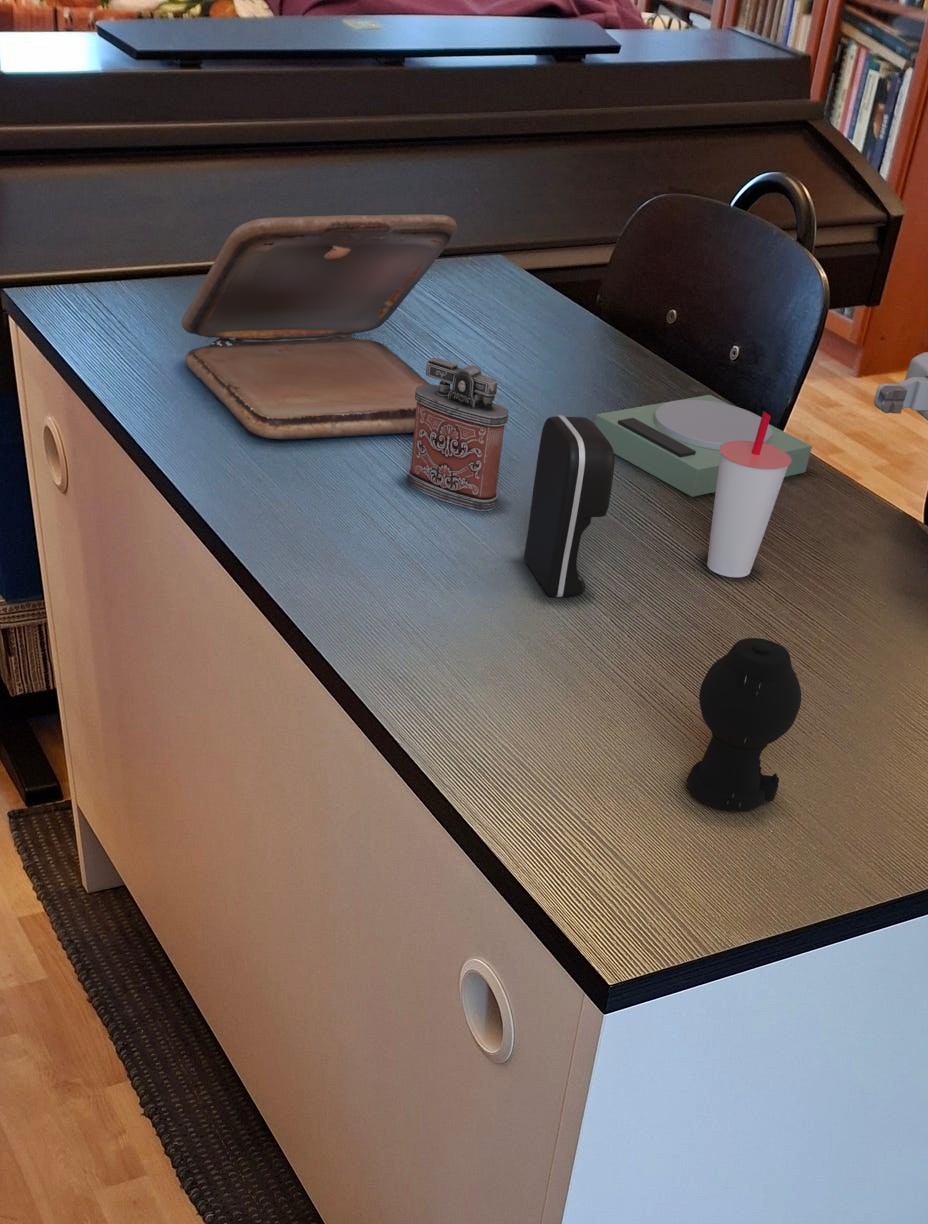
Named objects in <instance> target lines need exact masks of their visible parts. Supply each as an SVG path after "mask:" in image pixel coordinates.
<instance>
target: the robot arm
mask: <svg viewBox="0 0 928 1224" xmlns="http://www.w3.org/2000/svg"><path fill="white" fill-rule="evenodd" d="M873 405H874V406H875V407H876V408H877V409H879V410H880V411H881V412H882V413H884V414H902V410H904V409H909V408H910V409H911V410H912V411H915V412H916V413H917V414H919V415H920V416H921V417H922V418H924V419H925V420H926V421H928V351H925V352H921V353H919V354H918V355H915V356H914V357H913V358H911V360H910V363H909V365H908V369H907V371H906V375H905V379H904V380H902V381H899V382H898V383H896V382H895V383H894V382H893V383H892V382H890V383H889V382H884V383H883V382H882V383H881V384H879V385H878V387H877V388H876V392H875V395H874V399H873Z"/></svg>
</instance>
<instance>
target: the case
mask: <svg viewBox="0 0 928 1224" xmlns="http://www.w3.org/2000/svg"><path fill="white" fill-rule="evenodd" d="M457 230H458V225H457V222H456V220H455V219H454V218H453V217H451V216H449V215H445V214H427V213H424V214H414V213H413V214H380V215H378V214H375V215H374V214H370V215H369V214H366V215H364V214H363V215H362V214H353V215H351V214H348V215H347V214H344V215H340V214H339V215H311V216H310V215H307V216H306V215H305V216H277V217H263V218H261V217H260V218H256V219H252V220H250V221H247V222H244V223H242V224H240V225H238V226H237V227H235V229H234V230H233V231H232V232H231V233H230V234H229V236H228V237H227V239H226V241H225V243H224V244H223V246H222V248H221V249H220V251H219V253H218V255H217V256H216V258H215V260H214V262H213V264H212V265H211V267H210V269H209V271H208V272H207V274H206V276H205V278H204V279H203V282H202V283H201V285H200V286H199V288H198V289H197V292H196V294H195V295H194V296H193V299H192V300H191V302H190V304H189V306H188V307H187V308H186V311H185V312H184V314H183V316H182V318H181V327H182V329H183V330H184V331H185V332H187V333H189V334H192V335H197V336H200V337H204V338H209V339H210V338H216V340H214V341H212V342H211V343H210V344H209V345H205V346H202V347H200V346H199V347H196V348H192V349H191V350H189V351H187V353H186V354H185V356H184V362H185V364H186V366H187V367H188V369H190V371H192V373H193V374H194V375H195V376H196V377H197V378H198V379H199V380H200V381H202V383H203V384H204V385H205V386H206V387H207V388H208V389H209V390H211V392H212V393H213V394H214V395H215V396H216V397H217V399H219V401H221V402H222V404H223V405H224V406H225V407H226V408H227V409H228V410H229V411H230V412H231V414H232V415H233V416H234V417H235V418H236V419H237V420H238V422H240V424H242V425H243V426H244V427H245V429H246V430H247V431H249V432H250V433H252V434H254V435H256V436H258V437H261V438H264V439H270V440H301V439H302V440H303V439H319V438H320V439H321V438H339V437H356V436H374V435H378V436H379V435H395V434H397V435H398V434H414V427H415V416H416V406H417V401H416V400H415V391H416V387H418V386H420V385H425V384H430V382H428V381H427V380H426V379H425V378H423V377H422V376H421V375H420V374H419V373H418V372H417V371H416V370H415V369H414V368H413V367H411V365H409V364H408V363H407V362H406V361H404V360H403V359H402V358H401V357H400V356H399V355H398V354H397V353H395V352H393V350H391V349H390V348H389V347H388V346H387V345H385V344H383V343H381V342H379V341H376V340H371V339H364V338H363V339H362V338H354V337H352V336H351V335H353V334H357V333H366V332H370V331H373V330H376V329H378V328H380V327H381V326H382V325H383V324H385V323H386V322H387V321H388V320H389V319H390V318H391V316H392V315H394V312H396V310H397V309H398V308H399V307H400V306H401V304H402V303H403V302H404V300H405V299H406V298H407V297H408V295H409V294H410V293H411V292H412V291H413V289H414V288H415V287H416V285H418V283H419V282H420V281H421V279H422V278H423V277H424V276H425V274H426V273H427V272H428V271H429V269H430V268H431V267H432V266H433V264H434V263H435V262H436V260H437V259H438V258H439V257H440V256H441V254H442V253H443V251H444V250H445V249H446V247H447V246H448V245H449V244H450V242H451V241H452V240H453V238H454V237H455V236H456V233H457V232H458V231H457Z"/></svg>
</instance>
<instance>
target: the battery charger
mask: <svg viewBox="0 0 928 1224" xmlns="http://www.w3.org/2000/svg"><path fill="white" fill-rule="evenodd" d="M615 461H616V459H615V454H614V451H613V448H612V446H611V444H610V443H609V441H608V440H607V439H606V437H605V436H604V435H603V433H602V432H601V431H600V430H599V429H598V427H597V426H596V425H595V422H593V421H592V420H591V419H589V418H587V417H583V416H565V415H563V414H557V415H554V416H549V417H548V418H546V420H545V422H544V423H543V426H542V430H541V435H540V441H539V447H538V453H537V459H536V467H535V475H534V481H533V487H532V489H533V490H532V496H531V505H530V512H529V520H528V527H527V533H526V541H525V545H524V546H525V547H524V553H523V554H524V555H523V559H524V560H525V562H526V564H527V565H528V567H529V569H530V570H531V571H532V573H533V575H534V577H535V578H536V580H537V581H538V583H539V584H540V586H541V587H542V588H543V590H544V591H545V592H546V595H548V596H550V597H555V598H563V597H571V596H579V595H581V594H583V593H584V592H585V589H586V583H585V581H584V579H583V577H582V576H581V575H580V573H579V572H578V569H577V562H578V553H579V549H580V543H581V539H582V535H583V533H584V532H585V531H586V529H587V528H588V527H589V526H591V522H592V518H601V517H605V516H607V514H608V510H609V507H610V501H611V495H612V487H613V480H614V472H615V463H616V462H615Z"/></svg>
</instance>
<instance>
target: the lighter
mask: <svg viewBox="0 0 928 1224" xmlns="http://www.w3.org/2000/svg"><path fill="white" fill-rule="evenodd" d="M425 376H426V377H429V378H432V379H434V380H437V381H440V382H439V383H438V384H433V383H432V384H431V383H429V384H425V385H420V386H418V387H416V391H415V400H416V401H417V406H416V416H415V427H414V433H413V437H412V438H413V439H412V449H411V460H410V468H409V469H408V471H407V479H406V480H407V481H406V483H407V486H409V487H411V488H413V489H415V490H417V491H418V492H420V493H423V494H425V495H427V496H429V497H432V498H435V499H438V500H440V501H443V502H445V503H449V504H452V505H455V506H459V507H462V508H466V509H469V510H473V511H478V512H488V511H489V512H490V511H493V510H494V509H496V508H497V505H498V496H499V494H498V492H497V486H498V479H499V471H500V462H501V456H502V449H503V440H504V435H505V434H504V433H505V426H506V424H508V419H509V414H510V413H509V412H510V411H509V409H507V408H506V407H504V406H502V405H499V404H497V403H495V402H494V401H495V397H496V396H497V390H498V383H499V380H498V379H496V378H493V377H490V376H487V375H484V374H483V373H482V370H481V369H480V367H479V366H476V365H473V364H472V365H468V366H466V367H464V368H463V367H460V366H458V364H457V363H454V362H451V361H448V360H446V359H442V358H440V357H435V356H434V357H430V358H429V360H427V361H426V367H425Z"/></svg>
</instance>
